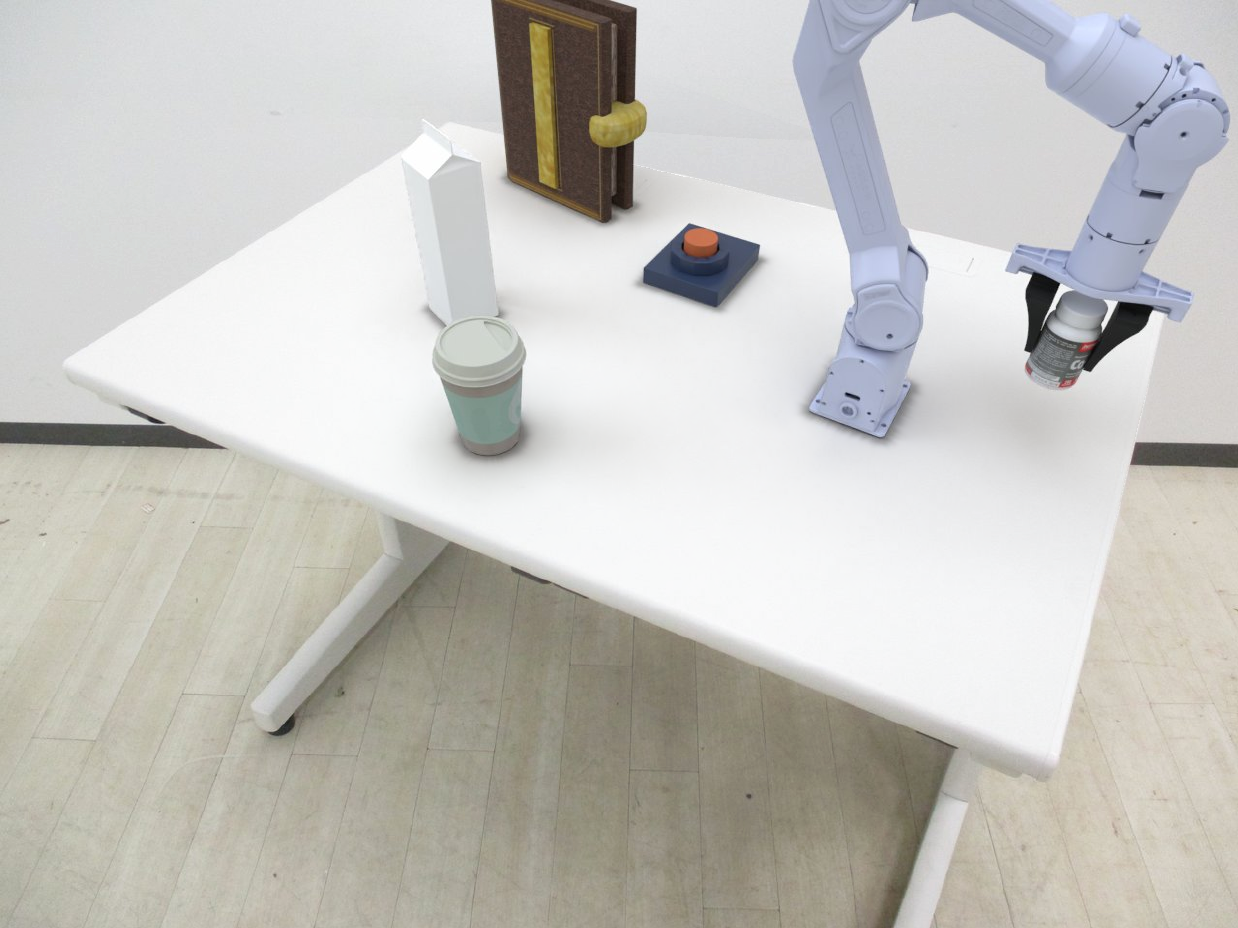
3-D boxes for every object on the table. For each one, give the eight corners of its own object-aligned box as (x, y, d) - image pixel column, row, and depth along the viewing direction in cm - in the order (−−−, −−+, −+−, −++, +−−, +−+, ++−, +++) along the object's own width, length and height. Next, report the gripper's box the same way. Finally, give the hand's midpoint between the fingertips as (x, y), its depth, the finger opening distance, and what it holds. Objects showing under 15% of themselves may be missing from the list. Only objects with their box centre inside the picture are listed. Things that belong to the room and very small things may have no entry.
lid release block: (716, 308, 100) (719, 279, 97) (642, 283, 103) (643, 254, 100) (758, 259, 107) (762, 231, 104) (687, 237, 110) (690, 210, 108)
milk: (454, 334, 96) (421, 149, 80) (428, 309, 99) (392, 126, 83) (500, 315, 99) (477, 131, 83) (473, 290, 102) (447, 109, 86)
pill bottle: (1066, 398, 79) (1104, 326, 73) (1016, 378, 81) (1049, 305, 75) (1082, 372, 81) (1120, 300, 75) (1033, 353, 83) (1066, 281, 77)
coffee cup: (529, 466, 82) (519, 371, 73) (441, 465, 82) (420, 369, 73) (537, 407, 88) (528, 312, 79) (455, 405, 88) (437, 310, 79)
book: (496, 180, 121) (476, -12, 103) (538, 158, 125) (526, -29, 107) (614, 234, 111) (615, 32, 93) (654, 208, 115) (663, 11, 97)
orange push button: (707, 262, 100) (708, 249, 99) (677, 253, 101) (678, 240, 100) (722, 246, 102) (723, 234, 101) (692, 237, 104) (693, 225, 103)
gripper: (1225, 229, 69) (1148, 358, 79) (1042, 182, 74) (991, 309, 84) (1217, 270, 65) (1137, 401, 75) (1024, 218, 70) (973, 347, 80)
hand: (1059, 356), depth 79 cm, fingers closed on pill bottle, 5 cm apart
